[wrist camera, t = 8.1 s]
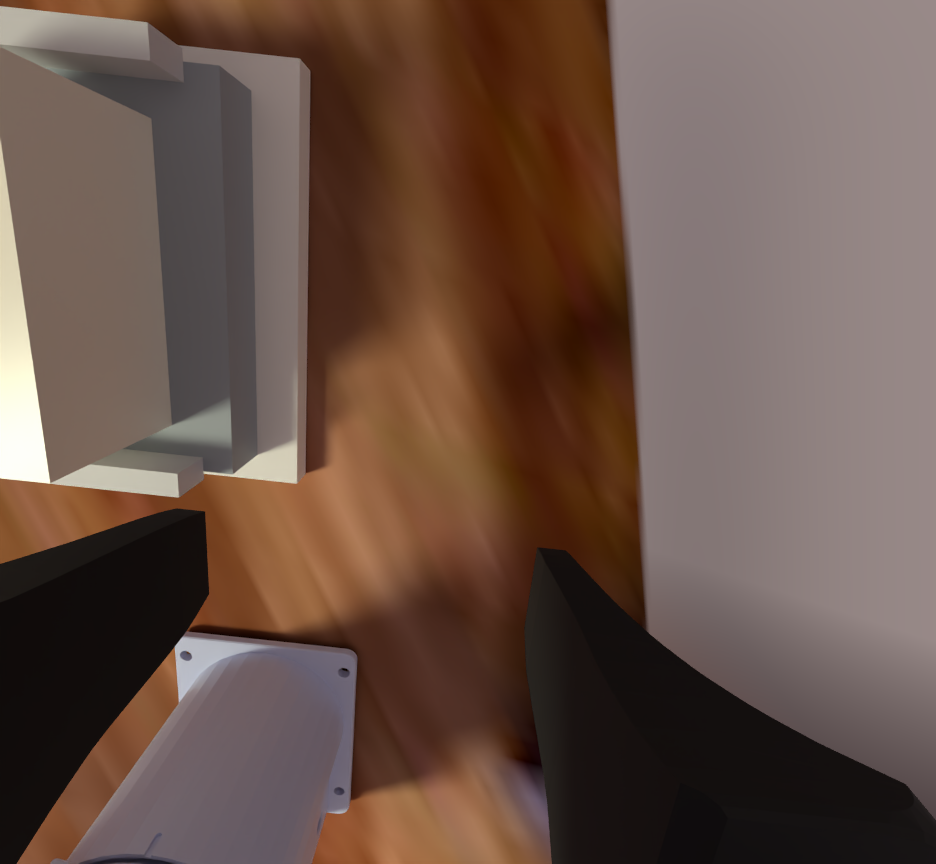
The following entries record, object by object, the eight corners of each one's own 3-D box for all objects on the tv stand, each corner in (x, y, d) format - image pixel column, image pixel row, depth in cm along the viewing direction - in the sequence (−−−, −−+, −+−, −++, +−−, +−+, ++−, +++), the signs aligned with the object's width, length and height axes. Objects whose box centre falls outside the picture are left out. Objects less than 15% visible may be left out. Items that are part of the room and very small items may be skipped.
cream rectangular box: (172, 425, 17) (50, 483, 12) (51, 412, 17) (-118, 465, 12) (151, 118, 14) (-14, 40, 10) (9, 103, 14) (-228, 16, 10)
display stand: (305, 474, 21) (258, 526, 16) (32, 444, 21) (-87, 489, 16) (310, 71, 17) (249, -1, 12) (-30, 34, 17) (-211, -52, 12)
